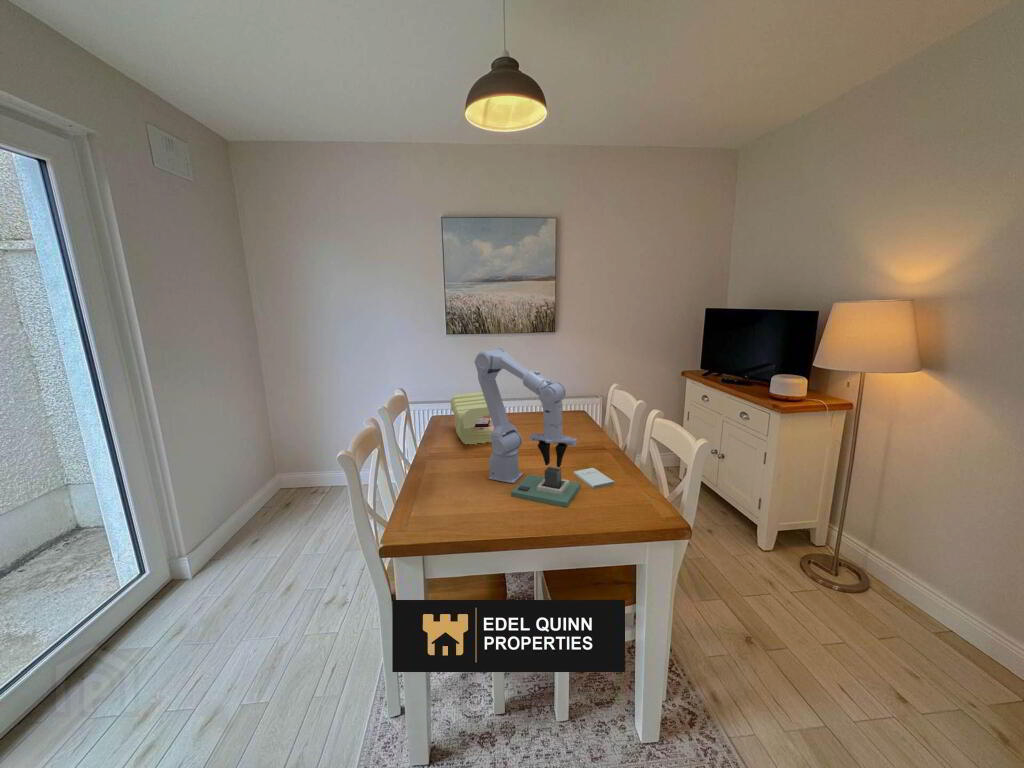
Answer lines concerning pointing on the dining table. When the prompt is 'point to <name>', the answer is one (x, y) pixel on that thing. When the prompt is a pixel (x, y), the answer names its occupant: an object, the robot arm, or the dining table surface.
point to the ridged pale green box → (470, 417)
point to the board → (546, 491)
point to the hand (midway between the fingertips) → (553, 464)
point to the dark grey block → (553, 477)
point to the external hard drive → (593, 478)
